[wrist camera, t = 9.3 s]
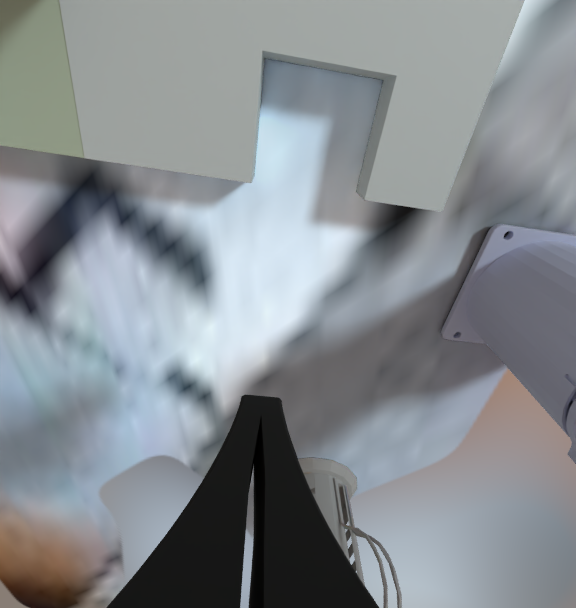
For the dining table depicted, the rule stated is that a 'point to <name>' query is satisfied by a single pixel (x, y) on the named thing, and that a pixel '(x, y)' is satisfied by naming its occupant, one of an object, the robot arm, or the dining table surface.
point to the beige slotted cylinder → (342, 511)
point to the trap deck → (247, 80)
